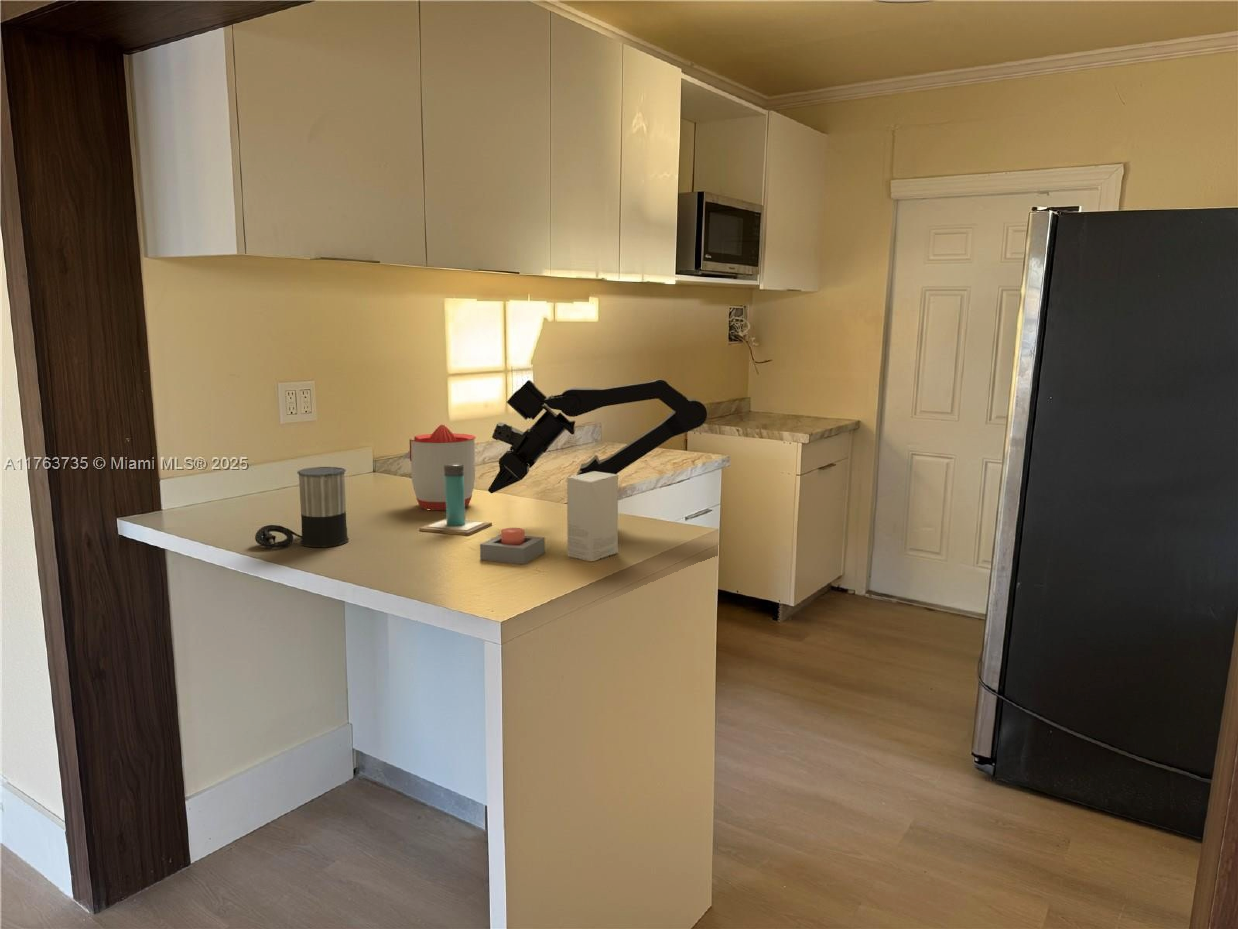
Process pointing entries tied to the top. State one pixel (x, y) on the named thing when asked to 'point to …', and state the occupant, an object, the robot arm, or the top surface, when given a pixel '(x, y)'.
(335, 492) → the milk frother
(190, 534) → the top surface
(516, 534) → the button
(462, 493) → the marker
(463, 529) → the brown picture frame
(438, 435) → the citrus juicer
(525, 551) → the button box
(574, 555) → the skincare box
